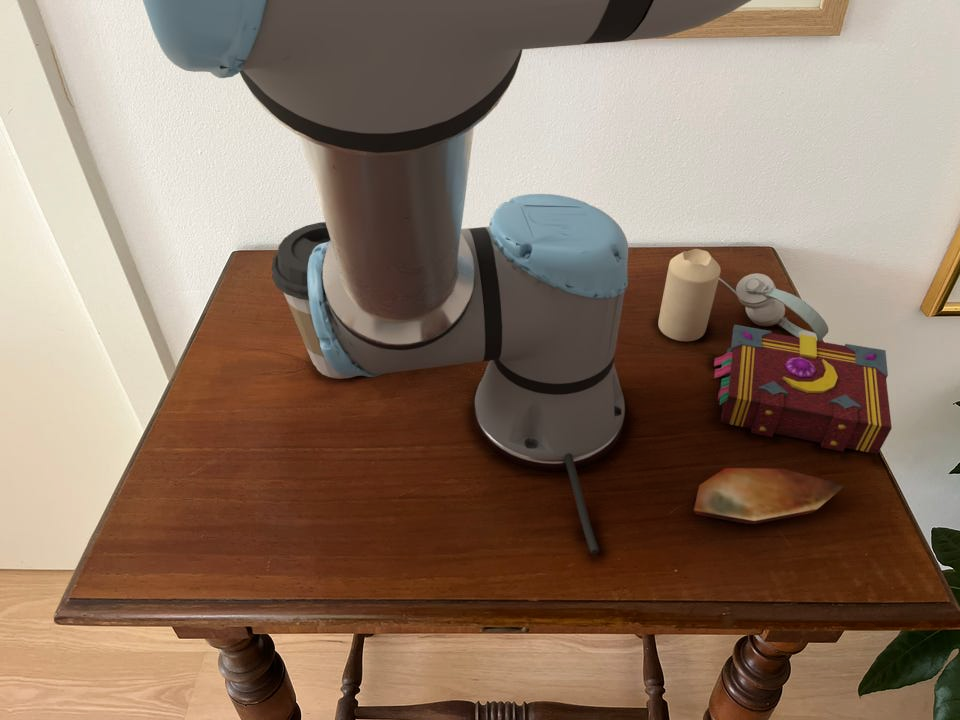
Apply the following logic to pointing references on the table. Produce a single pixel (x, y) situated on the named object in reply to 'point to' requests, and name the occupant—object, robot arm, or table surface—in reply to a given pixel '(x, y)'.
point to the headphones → (776, 306)
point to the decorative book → (805, 389)
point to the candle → (688, 295)
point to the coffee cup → (302, 286)
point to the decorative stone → (761, 495)
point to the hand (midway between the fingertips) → (386, 151)
